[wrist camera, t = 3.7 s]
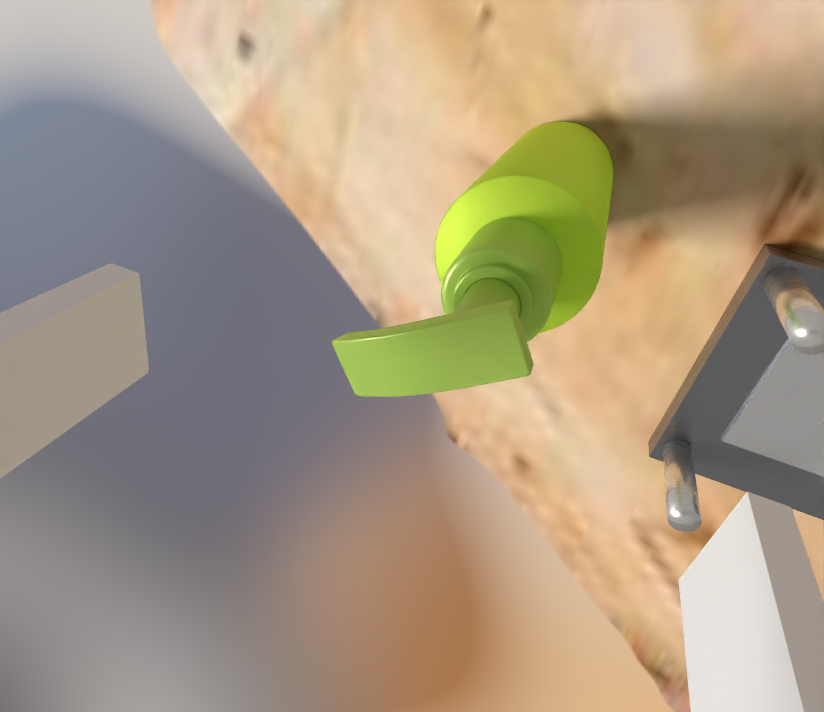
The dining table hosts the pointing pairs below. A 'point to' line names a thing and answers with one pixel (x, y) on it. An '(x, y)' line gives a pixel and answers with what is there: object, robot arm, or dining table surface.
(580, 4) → the dining table surface
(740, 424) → the display stand
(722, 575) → the robot arm
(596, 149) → the soap dispenser
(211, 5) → the dining table surface
